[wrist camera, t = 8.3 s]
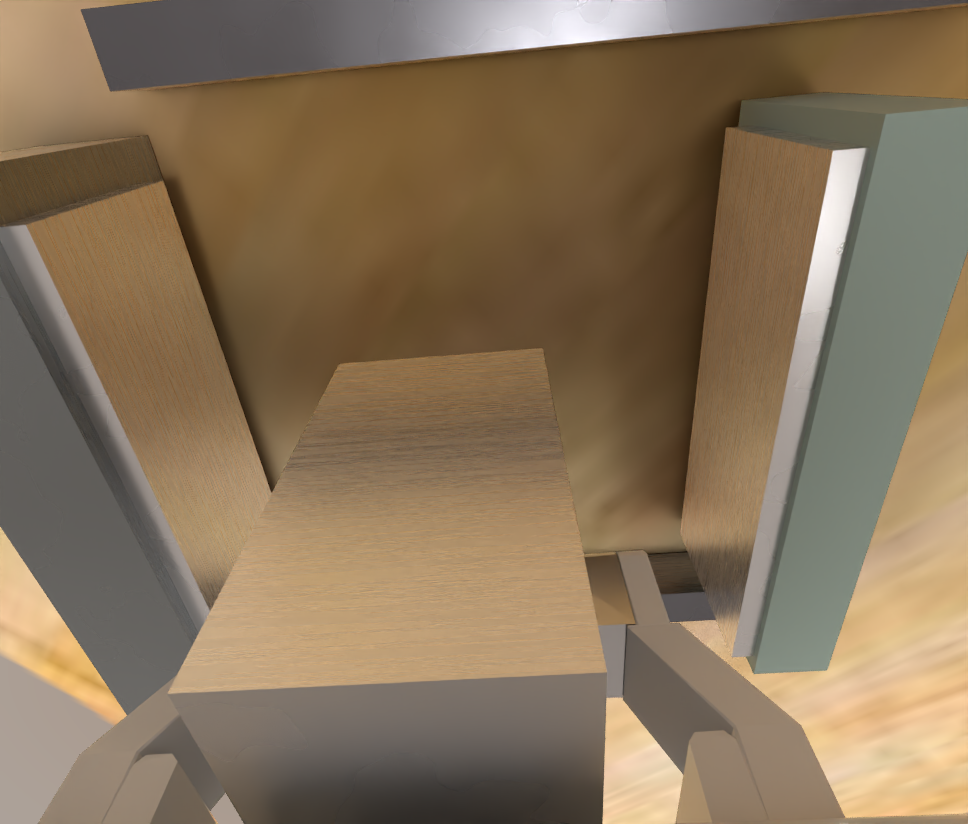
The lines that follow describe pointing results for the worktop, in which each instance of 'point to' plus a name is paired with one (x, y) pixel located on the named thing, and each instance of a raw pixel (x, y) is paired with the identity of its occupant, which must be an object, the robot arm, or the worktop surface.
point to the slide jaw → (816, 352)
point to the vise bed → (184, 314)
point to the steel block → (410, 613)
